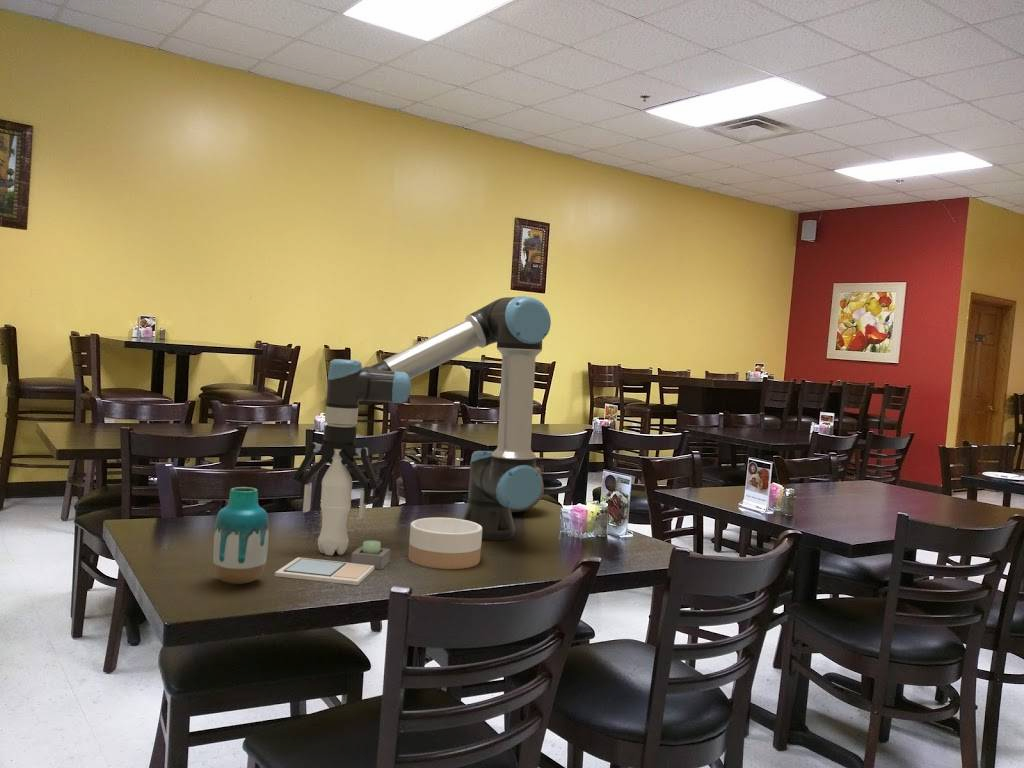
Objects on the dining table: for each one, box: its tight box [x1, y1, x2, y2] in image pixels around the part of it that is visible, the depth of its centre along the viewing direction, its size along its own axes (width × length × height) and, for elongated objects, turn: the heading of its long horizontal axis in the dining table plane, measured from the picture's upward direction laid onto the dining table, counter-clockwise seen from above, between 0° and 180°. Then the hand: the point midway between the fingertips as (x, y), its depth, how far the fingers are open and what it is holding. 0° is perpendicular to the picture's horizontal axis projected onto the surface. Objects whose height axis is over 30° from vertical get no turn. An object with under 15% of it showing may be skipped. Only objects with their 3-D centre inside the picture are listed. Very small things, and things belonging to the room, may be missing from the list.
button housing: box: [350, 545, 391, 571], centre depth 190 cm, size 7×7×3 cm
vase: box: [212, 486, 270, 585], centre depth 170 cm, size 11×11×19 cm
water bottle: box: [317, 449, 353, 557], centre depth 197 cm, size 7×7×25 cm
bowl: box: [408, 517, 482, 570], centre depth 200 cm, size 17×17×8 cm
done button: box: [362, 539, 382, 555], centre depth 190 cm, size 4×4×4 cm
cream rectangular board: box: [274, 557, 376, 586], centre depth 181 cm, size 18×13×1 cm
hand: (334, 514), depth 197 cm, fingers open, 13 cm apart
